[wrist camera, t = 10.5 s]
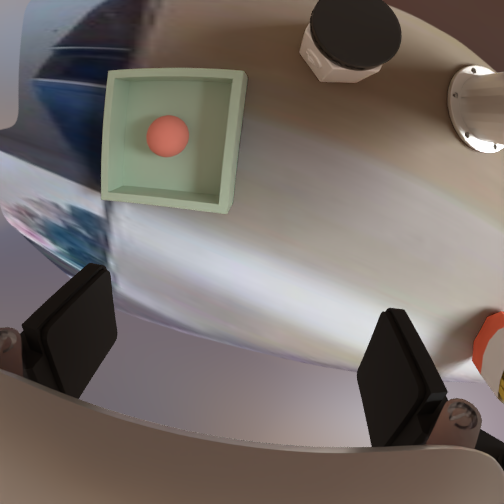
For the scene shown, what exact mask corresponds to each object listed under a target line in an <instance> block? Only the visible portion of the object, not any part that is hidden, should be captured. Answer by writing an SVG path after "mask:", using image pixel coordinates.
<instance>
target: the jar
mask: <svg viewBox="0 0 504 504" xmlns="http://www.w3.org/2000/svg"><path fill="white" fill-rule="evenodd" d="M311 15H312V16H311V18H310V23H309V24H308V26H307V28H306V30H305V32H304V36H303V39H302V43H301V47H300V50H299V53H300V55H301V56H302V57H303V59H304V60H305V61H306V63H307V64H308V65H309V67H310V68H311V70H312V71H313V72H314V74H315V75H316V77H317V78H318V80H319V81H320V82H346V83H357V82H359V81H361V80H363V79H365V78H367V77H369V76H371V75H373V74H375V73H377V72H379V71H380V69H381V67H382V65H383V64H384V63H386V62H387V61H389V60H390V59H391V58H392V57H393V56H394V55H395V54H396V53H397V51H398V49H399V47H400V44H401V37H402V36H401V27H400V24H399V21H398V19H397V17H396V15H395V14H394V12H393V11H392V9H391V8H390V7H389V6H388V5H387V4H386V3H384V1H382V0H319V1H318V2H317V4H316V6H315V8H314V9H313V11H312V14H311Z"/></svg>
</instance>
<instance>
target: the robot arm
mask: <svg viewBox="0 0 504 504" xmlns="http://www.w3.org/2000/svg"><path fill="white" fill-rule="evenodd" d="M453 95H454V96H453ZM448 109H449V114H450V118H451V121H452V124H453V126H454V128H455V130H456V132H457V133H458V135H459V136H460V138H461V139H462V140H463V141H464V142H465V143H466V144H467V145H468V146H469V147H471V148H473V149H474V150H476V151H480V152H483V153H495V152H497V151H499V150H501V149H502V148H503V147H504V72H501V73H494V72H493V71H491V70H490V69H488V68H486V67H483V66H479V65H471V66H467V67H464V68H462V69H460V70H459V71H458V72H457V73H456V74H455V75H454V76H453V78H452V80H451V82H450V85H449V89H448ZM22 328H23V332H22V333H21V334H20V333H19V332H18V331H17V330H16V329H14V328H10V327H3V328H0V504H504V443H503V442H502V441H500V440H498V439H496V438H495V437H493V436H491V435H489V434H488V433H486V432H485V431H483V430H481V429H480V428H481V423H482V419H481V415H480V413H479V411H478V409H477V408H476V407H475V406H474V405H473V404H471V403H470V402H468V401H466V400H464V399H459V398H455V399H450V400H449V401H448V399H447V397H446V394H447V389H446V388H445V385H444V383H443V381H442V379H441V377H440V375H439V373H438V371H437V369H436V367H435V365H434V363H433V361H432V359H431V357H430V355H429V353H428V352H427V350H426V348H425V346H424V344H423V342H422V340H421V338H420V337H419V335H418V333H417V331H416V329H415V328H414V326H413V324H412V322H411V320H410V319H409V317H408V315H407V313H406V312H405V310H403V309H395V308H388V309H387V310H386V312H382V313H381V315H380V317H379V320H378V322H377V325H376V327H375V330H374V332H373V335H372V337H371V340H370V342H369V345H368V347H367V350H366V352H365V354H364V357H363V359H362V361H361V364H360V366H359V368H358V371H357V381H358V385H359V389H360V394H361V397H362V402H363V407H364V412H365V416H366V421H367V426H368V430H369V435H370V440H371V445H372V447H349V448H348V447H310V446H293V445H281V444H270V443H261V442H252V441H245V440H237V439H231V438H224V437H218V436H212V435H207V434H202V433H197V432H192V431H186V430H182V429H178V428H173V427H169V426H165V425H160V424H157V423H153V422H149V421H145V420H142V419H138V418H134V417H131V416H127V415H124V414H120V413H118V412H114V411H111V410H108V409H104V408H102V407H99V406H96V405H93V404H90V403H87V402H85V401H82V400H79V397H80V396H81V394H82V393H83V391H84V389H85V388H86V386H87V385H88V383H89V381H90V380H91V378H92V377H93V375H94V374H95V372H96V370H97V369H98V367H99V366H100V364H101V363H102V361H103V360H104V358H105V356H106V355H107V353H108V352H109V350H110V349H111V347H112V346H113V344H114V343H115V341H116V339H117V327H116V320H115V312H114V304H113V295H112V286H111V276H110V272H109V271H108V270H107V269H106V267H105V266H104V265H99V264H93V263H89V264H88V265H86V266H85V267H84V268H83V269H82V270H81V271H79V272H78V273H77V274H76V275H75V276H74V277H72V278H71V279H70V280H69V281H68V282H67V283H66V284H65V285H63V286H62V287H61V288H60V289H59V290H58V291H57V292H56V293H55V294H54V295H52V296H51V297H50V298H49V299H48V300H47V301H46V302H45V303H44V304H43V305H42V306H41V307H40V308H38V309H37V310H36V311H35V312H34V313H33V314H32V315H31V316H30V317H29V318H28V319H27V320H26V321H25V322H24V323H23V324H22Z"/></svg>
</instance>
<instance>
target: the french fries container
mask: <svg viewBox="0 0 504 504" xmlns="http://www.w3.org/2000/svg"><path fill="white" fill-rule="evenodd" d="M472 361H473V363H474V364H475V366H476V368H477V369H478V371H479V373H480V374H481V376H482V377H483V378H484V380H485V381H486V383H487V384H488V385H489V387H490V388H491V390H492V391H493V392H494V394H495V395H496V397H497V398H498V399H499V400H500V401H501V402H502V403H503V404H504V312H501V311H500V312H498V313H496V314H493V315H491V316H488V317H487V318H486V320H485V322H484V324H483V326H482V328H481V330H480V331H479V333H478V335H477V337H476V338H475V340H474V346H473V357H472Z"/></svg>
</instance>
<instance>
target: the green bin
mask: <svg viewBox="0 0 504 504" xmlns="http://www.w3.org/2000/svg"><path fill="white" fill-rule="evenodd" d="M247 82H248V77H247V75H246V74H245V72H244V71H240V70H227V69H208V68H144V69H126V70H113V71H108V79H107V87H106V97H105V107H104V120H103V136H102V160H101V200H111V201H120V202H130V203H139V204H148V205H157V206H165V207H174V208H182V209H190V210H198V211H206V212H214V213H221V214H227V213H228V211H229V209H230V208H231V206H232V204H233V198H234V189H235V180H236V171H237V163H238V154H239V146H240V137H241V129H242V121H243V113H244V105H245V97H246V90H247ZM166 115H172V116H176V117H178V118H180V119H181V120H183V121H184V122H185V124H186V125H187V127H188V131H189V140H188V143H187V145H186V147H185V148H184V150H183V151H182V152H180V153H179V154H177V155H175V156H172V157H161V156H158V155H156V154H155V153H153V152H152V151H151V150H150V148H149V146H148V144H147V139H146V135H147V131H148V128H149V126H150V125H151V123H152V122H153V121H154V120H156V119H157V118H159V117H161V116H166Z"/></svg>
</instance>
